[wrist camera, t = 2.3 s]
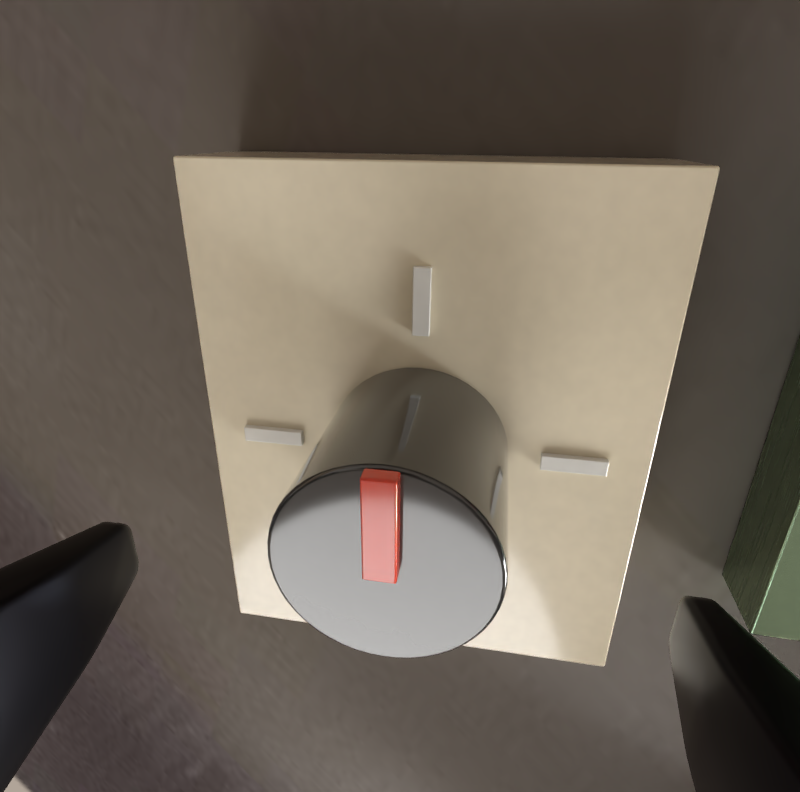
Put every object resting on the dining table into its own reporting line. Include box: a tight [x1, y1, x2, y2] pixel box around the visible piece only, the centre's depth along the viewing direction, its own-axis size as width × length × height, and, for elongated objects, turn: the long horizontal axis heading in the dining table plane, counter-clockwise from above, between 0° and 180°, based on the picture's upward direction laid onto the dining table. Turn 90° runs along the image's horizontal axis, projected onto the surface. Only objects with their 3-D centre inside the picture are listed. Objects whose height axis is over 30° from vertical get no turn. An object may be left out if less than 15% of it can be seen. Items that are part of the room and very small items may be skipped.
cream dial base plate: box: [173, 151, 720, 666], centre depth 14 cm, size 12×10×3 cm
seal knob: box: [267, 368, 508, 658], centre depth 11 cm, size 4×4×4 cm
